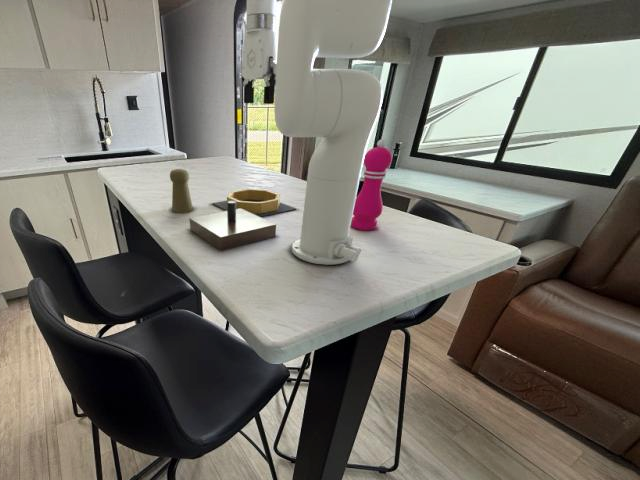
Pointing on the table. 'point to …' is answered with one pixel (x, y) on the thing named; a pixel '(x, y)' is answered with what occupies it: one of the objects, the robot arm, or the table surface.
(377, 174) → the pepper mill
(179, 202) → the olive game pawn
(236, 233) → the peg stand
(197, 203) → the table surface
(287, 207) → the mat
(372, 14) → the robot arm
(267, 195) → the brass hoop
